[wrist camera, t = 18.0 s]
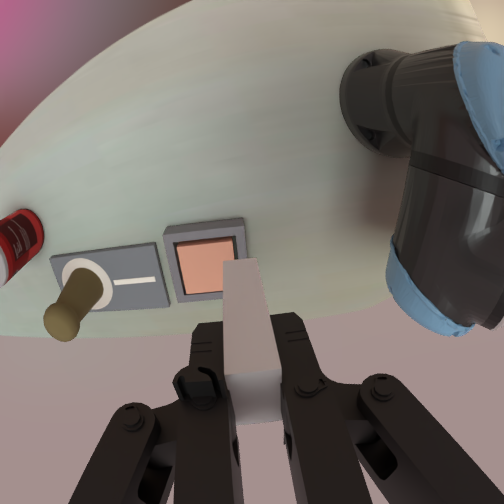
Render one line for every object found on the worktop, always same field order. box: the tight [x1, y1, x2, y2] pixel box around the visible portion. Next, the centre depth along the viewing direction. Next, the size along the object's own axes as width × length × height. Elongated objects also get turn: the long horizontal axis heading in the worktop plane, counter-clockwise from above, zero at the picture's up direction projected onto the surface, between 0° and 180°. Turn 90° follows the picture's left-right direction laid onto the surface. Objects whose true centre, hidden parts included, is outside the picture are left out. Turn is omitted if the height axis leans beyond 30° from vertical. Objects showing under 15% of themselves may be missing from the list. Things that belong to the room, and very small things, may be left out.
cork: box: [43, 268, 104, 342], centre depth 34 cm, size 6×6×11 cm
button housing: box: [163, 218, 247, 303], centre depth 38 cm, size 10×10×3 cm
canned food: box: [0, 209, 44, 288], centre depth 30 cm, size 8×8×11 cm
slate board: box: [49, 242, 170, 312], centre depth 39 cm, size 18×10×1 cm, turn 94°
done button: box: [177, 236, 235, 294], centre depth 38 cm, size 7×7×3 cm
